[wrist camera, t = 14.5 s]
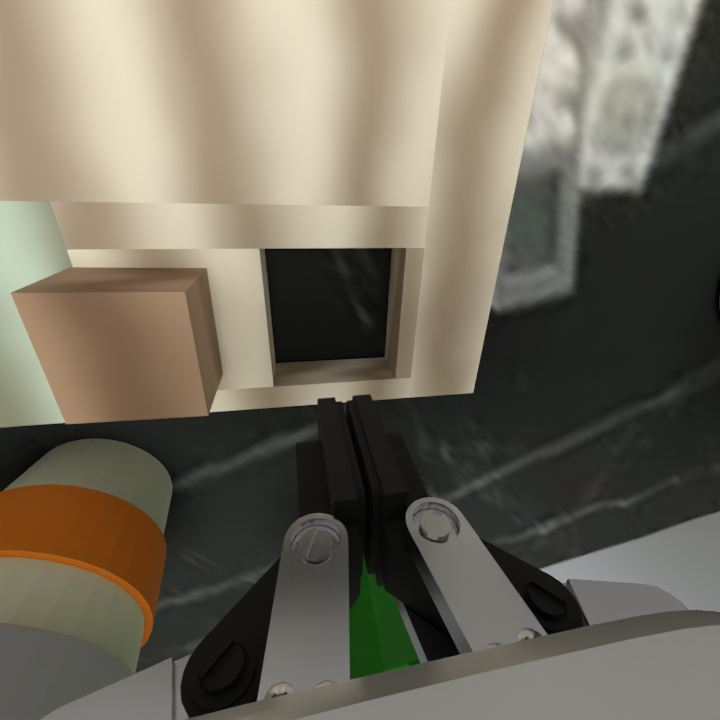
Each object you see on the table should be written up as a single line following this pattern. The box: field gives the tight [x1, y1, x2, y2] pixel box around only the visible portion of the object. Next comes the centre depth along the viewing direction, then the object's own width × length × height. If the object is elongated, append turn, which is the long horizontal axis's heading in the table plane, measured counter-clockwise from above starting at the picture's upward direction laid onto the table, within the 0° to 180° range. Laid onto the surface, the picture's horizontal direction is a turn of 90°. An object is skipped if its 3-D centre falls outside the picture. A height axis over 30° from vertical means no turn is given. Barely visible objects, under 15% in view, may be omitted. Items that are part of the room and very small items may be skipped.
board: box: [0, 0, 554, 428], centre depth 17 cm, size 32×23×3 cm
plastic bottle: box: [349, 556, 421, 680], centre depth 20 cm, size 10×10×25 cm
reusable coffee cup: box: [0, 438, 172, 720], centre depth 20 cm, size 12×12×15 cm
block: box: [11, 267, 223, 424], centre depth 17 cm, size 6×6×4 cm
